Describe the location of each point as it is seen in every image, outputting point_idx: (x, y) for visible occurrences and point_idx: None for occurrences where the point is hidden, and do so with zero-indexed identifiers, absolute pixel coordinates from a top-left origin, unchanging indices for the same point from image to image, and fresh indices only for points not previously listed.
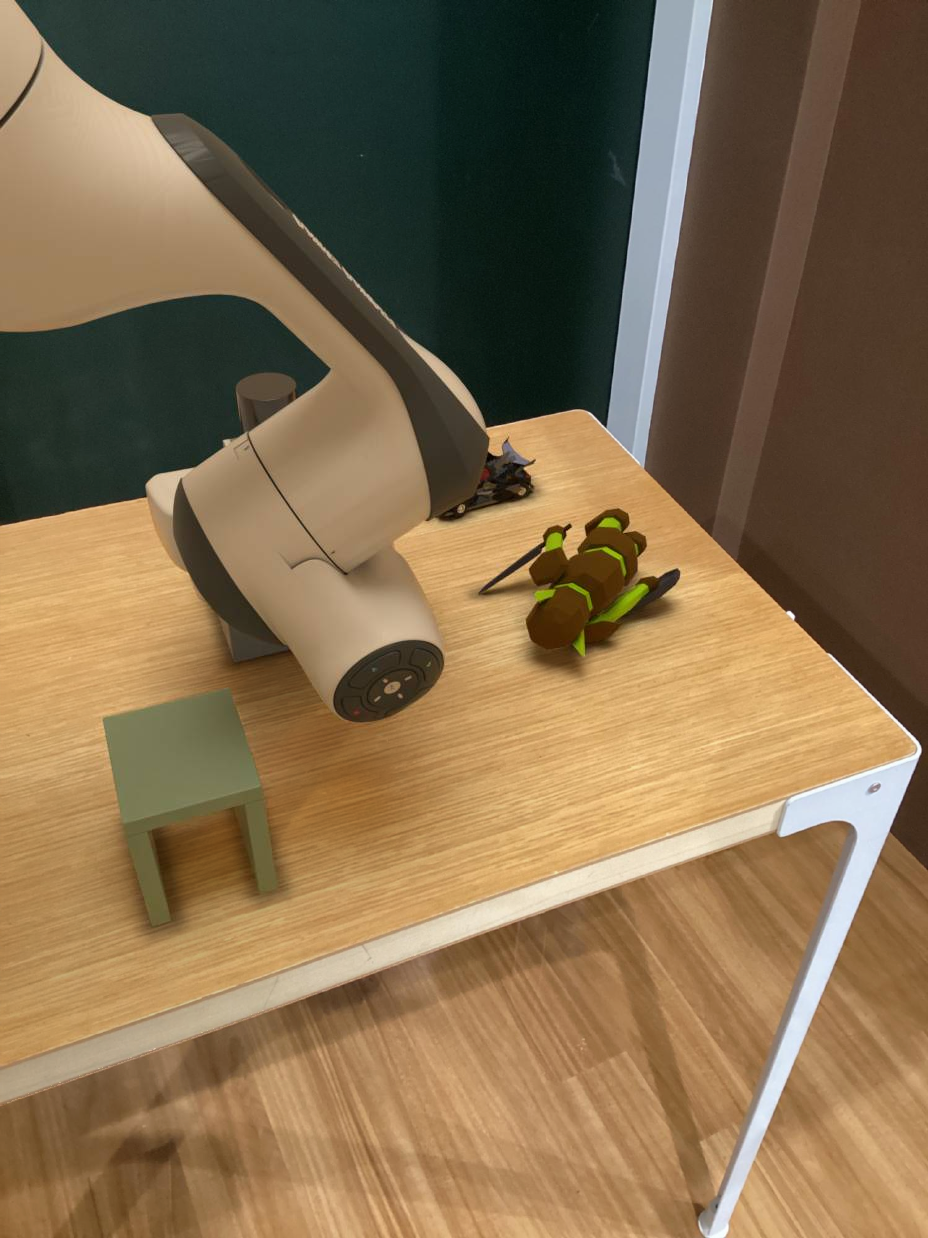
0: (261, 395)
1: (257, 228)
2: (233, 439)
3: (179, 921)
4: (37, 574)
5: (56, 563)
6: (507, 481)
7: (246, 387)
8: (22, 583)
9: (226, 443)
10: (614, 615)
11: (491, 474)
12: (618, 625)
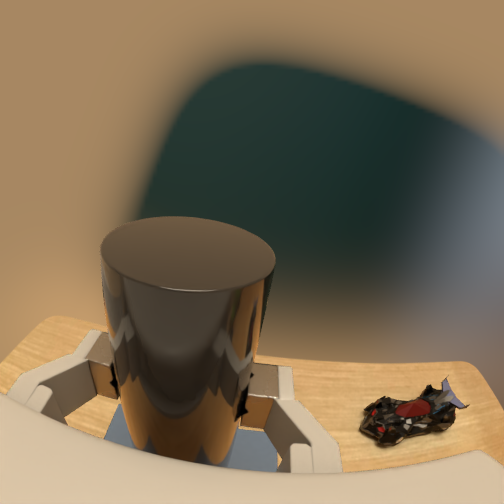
0: (146, 262)
1: None
2: (106, 337)
3: None
4: (33, 349)
5: (49, 347)
6: (441, 418)
7: (140, 232)
8: (21, 350)
9: (86, 340)
10: None
11: (431, 410)
12: None
